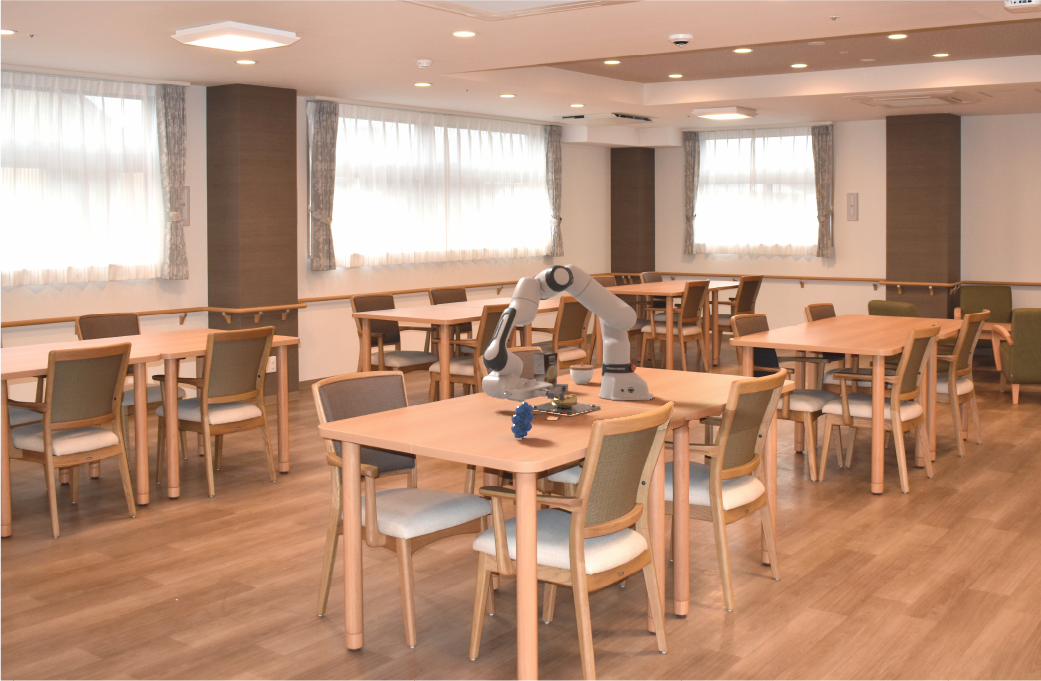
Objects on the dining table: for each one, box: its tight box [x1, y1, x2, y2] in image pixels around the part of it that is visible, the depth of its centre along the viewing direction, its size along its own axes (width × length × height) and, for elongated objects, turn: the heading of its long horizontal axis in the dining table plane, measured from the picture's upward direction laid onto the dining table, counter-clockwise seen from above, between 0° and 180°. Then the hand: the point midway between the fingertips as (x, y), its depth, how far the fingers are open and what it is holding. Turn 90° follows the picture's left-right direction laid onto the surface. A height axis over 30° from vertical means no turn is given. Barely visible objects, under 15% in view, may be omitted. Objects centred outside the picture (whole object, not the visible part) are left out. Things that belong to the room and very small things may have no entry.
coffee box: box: [533, 351, 558, 388], centre depth 415 cm, size 9×6×16 cm
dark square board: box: [531, 401, 601, 415], centre depth 370 cm, size 20×20×2 cm
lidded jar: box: [569, 361, 595, 385], centre depth 435 cm, size 11×11×9 cm
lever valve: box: [546, 383, 578, 406], centre depth 361 cm, size 28×10×8 cm, turn 165°
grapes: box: [510, 401, 535, 439], centre depth 318 cm, size 12×7×12 cm, turn 146°
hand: (548, 393), depth 353 cm, fingers closed
